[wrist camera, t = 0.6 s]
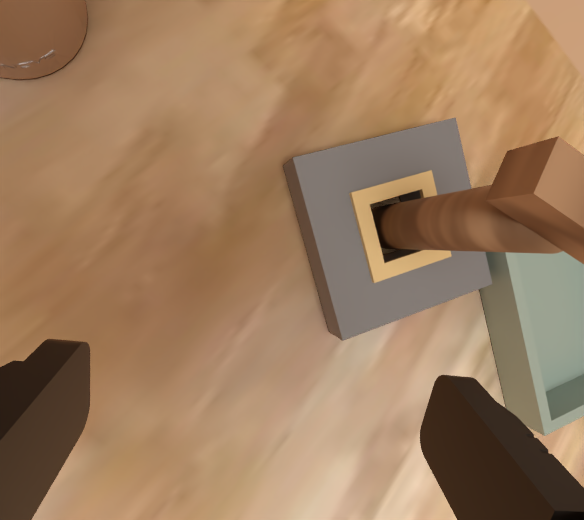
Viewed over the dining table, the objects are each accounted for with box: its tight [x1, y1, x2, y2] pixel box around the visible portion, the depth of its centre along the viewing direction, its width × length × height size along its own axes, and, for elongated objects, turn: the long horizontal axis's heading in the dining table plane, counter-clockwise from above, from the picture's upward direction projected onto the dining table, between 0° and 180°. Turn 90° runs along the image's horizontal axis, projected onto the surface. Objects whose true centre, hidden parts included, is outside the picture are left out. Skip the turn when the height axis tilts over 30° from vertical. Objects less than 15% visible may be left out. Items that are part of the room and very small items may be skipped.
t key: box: [371, 136, 584, 264], centre depth 24 cm, size 7×4×18 cm, turn 63°
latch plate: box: [283, 118, 492, 340], centre depth 31 cm, size 14×14×3 cm
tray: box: [479, 251, 584, 436], centre depth 36 cm, size 20×14×4 cm
